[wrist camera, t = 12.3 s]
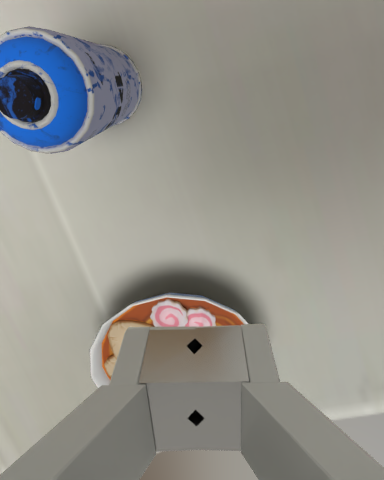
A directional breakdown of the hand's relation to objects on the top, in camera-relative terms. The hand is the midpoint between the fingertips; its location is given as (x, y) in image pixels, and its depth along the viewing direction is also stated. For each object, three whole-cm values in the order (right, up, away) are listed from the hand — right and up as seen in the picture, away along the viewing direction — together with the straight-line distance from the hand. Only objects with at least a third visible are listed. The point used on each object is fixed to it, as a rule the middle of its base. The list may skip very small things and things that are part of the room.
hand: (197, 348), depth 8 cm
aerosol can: (-9, +19, +29) cm, 36 cm away
